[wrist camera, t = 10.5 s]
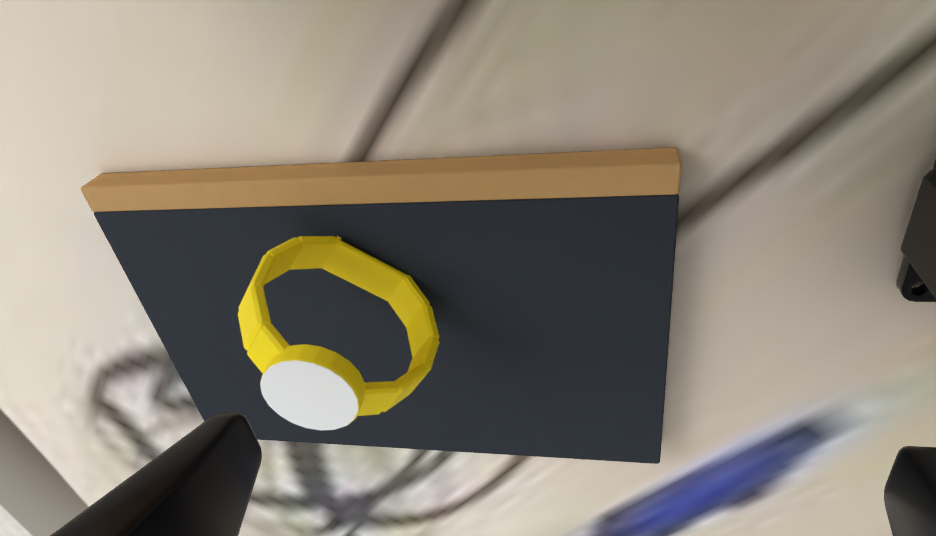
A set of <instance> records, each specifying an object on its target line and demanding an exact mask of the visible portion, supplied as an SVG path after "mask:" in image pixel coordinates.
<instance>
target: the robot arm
mask: <svg viewBox="0 0 936 536" xmlns="http://www.w3.org/2000/svg"><path fill="white" fill-rule="evenodd" d="M901 251H902V253H903V254H904V255H905V257H904V260H903V263H902V266H901V269H900V272H899V276H898V279H897V287H898V289H899V291H900V292H901V294H902V295H903V297H904V298H905V299H907V300H909V301H915V302H936V160H935V164H934V167H933V169H932V170H930V171H929V172H928V173H927V174H926V175H925V176H924V177H923V179H922V183H921V186H920V189H919V192H918V195H917V199H916V202H915V205H914V208H913V211H912V214H911V218H910V221H909V224H908V227H907V230H906V233H905V237H904V240H903V243H902V246H901ZM918 282H923V284H922V285H920V286H918V287H913V288H912V286H913V285H914V284H916V283H918ZM261 458H262V453H261V447H260V445H259V443H258V441H257V439H256V437H255V435H254V432H253V430H252V428H251V426H250V424H249V422H248V420H247V419H246V417H245V416H243V415H242V414H238V413H218V414H215V415H214V416H212V417H210V418H209V419H208V420H206V421H205V422H204V423H202V424H201V425H200V426H198V427H197V428H196V429H194V430H193V431H192V432H190V433H189V434H187V435H186V436H185V437H183V438H182V439H181V440H179V441H178V442H177V443H175V444H174V445H173V446H171V447H170V448H168V449H167V450H166V451H164V452H163V453H162V454H160V455H159V456H158V457H156V458H155V459H154V460H152V461H151V462H149V463H148V464H147V465H145V466H144V467H143V468H141V469H140V470H139V471H137V472H136V473H135V474H133V475H132V476H131V477H129V478H128V479H126V480H125V481H124V482H122V483H121V484H120V485H118V486H117V487H116V488H114V489H113V490H112V491H110V492H109V493H107V494H106V495H105V496H103V497H102V498H101V499H99V500H98V501H97V502H95V503H94V504H93V505H91V506H90V507H89V508H87V509H86V510H84V511H83V512H82V513H80V514H79V515H78V516H76V517H75V518H74V519H72V520H71V521H70V522H68V523H67V524H66V525H64V526H63V527H61V528H60V529H59V530H57V531H56V532H55V533H53V534H52V535H51V536H238V534H239V531H240V528H241V524H242V521H243V518H244V515H245V512H246V508H247V505H248V502H249V499H250V496H251V493H252V489H253V486H254V483H255V480H256V477H257V474H258V470H259V467H260V464H261ZM884 501H885V507H886V511H887V515H888V519H889V523H890V527H891V530H892V534H893V536H936V448H935V447H918V446H905V447H903V448H902V449H900V450H899V452H898V454H897V456H896V459H895V462H894V464H893V467H892V469H891V472H890V475H889V477H888V480H887V482H886V485H885V490H884Z"/></svg>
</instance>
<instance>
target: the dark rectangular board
mask: <svg viewBox="0 0 936 536" xmlns="http://www.w3.org/2000/svg"><path fill="white" fill-rule="evenodd" d="M680 177H681V162H680V158H679V154H678V150H677V148H652V149H630V150H608V151H586V152H564V153H542V154H520V155H498V156H476V157H454V158H432V159H410V160H388V161H366V162H344V163H322V164H300V165H278V166H256V167H234V168H212V169H190V170H168V171H146V172H124V173H103V174H100V175H99V176H97V177H96V178H94V179H93V180H91V181H90V182H88V183H87V184H85V185H84V186H82V187H81V191H82V193H83V195H84V197H85V198H86V200H87V202H88V204H89V206H90V208H91V210H92V211H93V212H95V213H94V215H95V217H96V219H97V221H98V223H99V225H100V226H101V228H102V230H103V232H104V234H105V236H106V238H107V240H108V241H109V243H110V245H111V247H112V249H113V251H114V253H115V255H116V256H117V258H118V260H119V262H120V264H121V266H122V268H123V270H124V271H125V273H126V275H127V277H128V279H129V281H130V283H131V285H132V286H133V288H134V290H135V292H136V294H137V296H138V298H139V299H140V301H141V303H142V305H143V307H144V309H145V311H146V313H147V314H148V316H149V318H150V320H151V322H152V324H153V326H154V328H155V329H156V331H157V333H158V335H159V337H160V339H161V341H162V343H163V344H164V346H165V348H166V350H167V352H168V354H169V356H170V358H171V359H172V361H173V363H174V365H175V367H176V369H177V371H178V373H179V374H180V376H181V378H182V380H183V382H184V384H185V386H186V388H187V389H188V391H189V393H190V395H191V397H192V399H193V401H194V403H195V404H196V406H197V408H198V410H199V412H200V414H201V416H202V418H203V419H204V421H206V420H208V419H209V418H210V417H212V416H214V415H215V414H218V413H238V414H242V415H243V416H245V417H246V419H247V420H248V422H249V424H250V426H251V428H252V430H253V432H254V435H255V437H256V439H260V440H277V441H293V442H310V443H326V444H343V445H359V446H376V447H392V448H409V449H425V450H442V451H458V452H475V453H491V454H508V455H524V456H541V457H557V458H574V459H590V460H607V461H623V462H640V463H656V464H658V463H659V462H660V454H661V441H662V427H663V413H664V399H665V385H666V371H667V357H668V343H669V329H670V316H671V302H672V288H673V274H674V260H675V246H676V232H677V218H678V205H679V195H678V193H679V191H680ZM299 236H335V237H337V236H339V237H341V238H342V239H341V241H343V242H345V243H347V244H349V245H351V246H353V247H355V248H357V249H359V250H361V251H362V252H364V253H366V254H368V255H370V256H372V257H374V258H376V259H378V260H380V261H382V262H384V263H386V264H388V265H389V266H391V267H393V268H395V269H397V270H399V271H401V272H403V273H405V274H407V275H410V277H411V278H412V279H413V281H414V282H415V283H416V285H417V286H418V287H419V289H420V290H421V292H422V293H423V294H424V296H425V297H426V298H427V300H428V301H429V302H430V306H431V307H432V309H433V313H434V317H435V321H436V325H437V329H438V333H439V337H440V338H439V339H438V340H439V346H438V349H437V352H436V355H435V358H434V361H433V364H432V368H431V370H430V371H429V372H428V374H427V375H426V376H425V377H424V378H423V380H422V381H421V382H420V383H419V384H418V385H417V387H416V388H415V389H414V390H413V391H412V393H411V394H410V395H408V396H407V397H406V398H404V399H403V400H401V401H400V402H399V403H397V404H396V405H394V406H393V407H392V408H390V409H389V410H387V411H386V412H381V413H380V414H377V415H365V416H357V417H356V419H355V420H353V421H352V422H351V423H350V424H349V425H347V426H344V427H341V428H338V429H335V430H315V429H309V428H304V427H302V426H299V425H296V424H294V423H291V422H290V421H288V420H286V419H285V418H283V417H281V416H280V415H278V414H277V413H276V412H275V411H274V410H273V409H272V408H271V407H270V406H269V405H268V403H267V402H266V400H265V399H264V397H263V395H262V391H261V386H260V381H261V378H262V374H263V373H262V372H261V371H260V370H259V369H258V367H257V366H256V365H255V364H254V362H253V361H252V360H251V359H250V357H249V356H248V355H247V352H248V351H247V350H246V349H244V345H243V340H242V335H241V329H240V324H239V318H238V312H239V305H240V303H241V301H242V299H243V297H244V295H245V293H246V291H247V289H248V287H249V284H250V282H251V280H252V278H253V276H254V274H255V272H256V270H257V268H258V266H259V264H260V261H261V259H262V257H263V255H266V253H267V251H269V250H271V249H273V248H275V247H277V246H279V245H280V244H282V243H284V242H286V241H288V240H290V239H292V238H295V237H297V238H298V237H299ZM263 289H264V293H265V298H266V302H267V307H268V311H269V316H270V320H271V324H272V325H273V326H274V327H275V328H276V330H277V331H278V332H279V333H280V334H281V336H282V337H283V338H284V339H285V340H286V342H287V343H288V344H289V345H290V346H292V345H302V344H308V345H314V346H320V347H324V348H326V349H329V350H331V351H334V352H336V353H338V354H340V355H341V356H343V357H344V358H346V359H347V360H349V361H350V362H351V363H352V364H353V365H354V366H355V367H356V368H357V370H358V371H359V372H360V374H361V376H362V378H363V380H364V382H386V381H395V380H397V379H398V378H400V377H401V376H403V375H404V374H406V373H407V372H408V369H409V366H410V363H411V361H412V353H411V348H410V343H409V338H408V333H407V329H406V327H405V325H404V324H403V322H402V321H401V319H400V318H399V317H398V315H397V314H396V312H395V311H394V309H393V308H392V307H391V305H390V304H389V302H388V301H386V300H384V299H382V298H380V297H378V296H376V295H374V294H372V293H370V292H368V291H366V290H364V289H362V288H360V287H358V286H356V285H354V284H352V283H350V282H348V281H346V280H344V279H342V278H340V277H338V276H336V275H334V274H332V273H330V272H328V271H326V270H324V269H322V268H315V269H295V270H288V271H287V272H285V273H283V274H282V275H280V276H278V277H276V278H275V279H273V280H271V281H270V282H268V283H266V284H265V285H264V287H263Z"/></svg>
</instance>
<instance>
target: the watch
mask: <svg viewBox="0 0 936 536" xmlns="http://www.w3.org/2000/svg"><path fill="white" fill-rule="evenodd" d="M341 239H342V238H341V237H339V236H337V237H335V236H299V237H298V238H297V237H295V238H292V239H290V240H288V241H286V242H284V243H282V244H280V245H279V246H277V247H275V248H273V249H271V250H269V251H267V253H266V255H263V257H262V259H261V261H260V264H259V266H258V268H257V270H256V272H255V274H254V276H253V278H252V280H251V282H250V284H249V287H248V289H247V291H246V293H245V295H244V297H243V299H242V301H241V303H240V305H239V312H238V318H239V324H240V329H241V335H242V340H243V345H244V349H246V350H247V351H248V352H247V355H248V356H249V357H250V359H251V360H252V361H253V362H254V364H255V365H256V366H257V367H258V369H259V370H260V371H261V372H262V373H263V374H262V378H261V381H260V386H261V391H262V395H263V397H264V399H265V400H266V402H267V403H268V405H269V406H270V407H271V408H272V409H273V410H274V411H275V412H276V413H277V414H278V415H280V416H281V417H283V418H285V419H286V420H288V421H290V422H291V423H294V424H296V425H299V426H302V427H304V428H309V429H315V430H335V429H338V428H341V427H344V426H347V425H349V424H350V423H351V422H352V421H353V420H355V419H356V417H357V416H365V415H377V414H380V413H381V412H386V411H387V410H389V409H390V408H392V407H393V406H394V405H396V404H397V403H399V402H400V401H401V400H403V399H404V398H406V397H407V396H408V395H410V394H411V393H412V391H413V390H414V389H415V388H416V387H417V385H418V384H419V383H420V382H421V381H422V380H423V378H424V377H425V376H426V375H427V374H428V372H429V371H430V370H431V368H432V364H433V361H434V358H435V355H436V352H437V349H438V346H439V340H438V339H439V338H440V337H439V333H438V329H437V325H436V321H435V317H434V313H433V309H432V307H431V306H430V302H429V301H428V300H427V298H426V297H425V296H424V294H423V293H422V292H421V290H420V289H419V287H418V286H417V285H416V283H415V282H414V281H413V279H412V278H411V277H410V275H407V274H405V273H403V272H401V271H399V270H397V269H395V268H393V267H391V266H389V265H388V264H386V263H384V262H382V261H380V260H378V259H376V258H374V257H372V256H370V255H368V254H366V253H364V252H362V251H361V250H359V249H357V248H355V247H353V246H351V245H349V244H347V243H345V242H343V241H341ZM315 268H322V269H324V270H326V271H328V272H330V273H332V274H334V275H336V276H338V277H340V278H342V279H344V280H346V281H348V282H350V283H352V284H354V285H356V286H358V287H360V288H362V289H364V290H366V291H368V292H370V293H372V294H374V295H376V296H378V297H380V298H382V299H384V300H386V301H388V302H389V304H390V305H391V307H392V308H393V309H394V311H395V312H396V314H397V315H398V317H399V318H400V319H401V321H402V322H403V324H404V325H405V327H406V329H407V333H408V338H409V343H410V348H411V353H412V361H411V363H410V366H409V369H408V372H407V373H406V374H404V375H403V376H401V377H400V378H398V379H397V380H395V381H386V382H364V380H363V378H362V376H361V374H360V372H359V371H358V370H357V368H356V367H355V366H354V365H353V364H352V363H351V362H350V361H349V360H347V359H346V358H344V357H343V356H341V355H340V354H338V353H336V352H334V351H331V350H329V349H326V348H324V347H320V346H314V345H308V344H302V345H292V346H290V345H289V344H288V343H287V342H286V340H285V339H284V338H283V337H282V336H281V334H280V333H279V332H278V331H277V330H276V328H275V327H274V326H273V325H272V324H271V320H270V316H269V311H268V307H267V302H266V298H265V293H264V289H263V287H264V285H265V284H266V283H268V282H270V281H271V280H273V279H275V278H276V277H278V276H280V275H282V274H283V273H285V272H287V271H288V270H295V269H315Z"/></svg>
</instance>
